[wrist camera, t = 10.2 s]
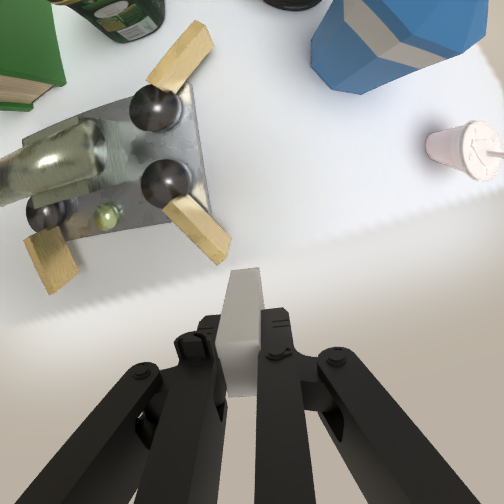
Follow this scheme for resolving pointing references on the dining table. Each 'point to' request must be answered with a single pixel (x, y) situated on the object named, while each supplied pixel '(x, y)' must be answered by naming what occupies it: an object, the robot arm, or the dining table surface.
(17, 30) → the hardback book
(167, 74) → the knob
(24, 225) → the dining table surface
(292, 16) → the dining table surface
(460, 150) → the smoothie
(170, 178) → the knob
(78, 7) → the coffee jar
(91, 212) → the base
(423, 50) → the water bottle
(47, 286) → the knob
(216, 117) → the dining table surface
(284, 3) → the black smart speaker
